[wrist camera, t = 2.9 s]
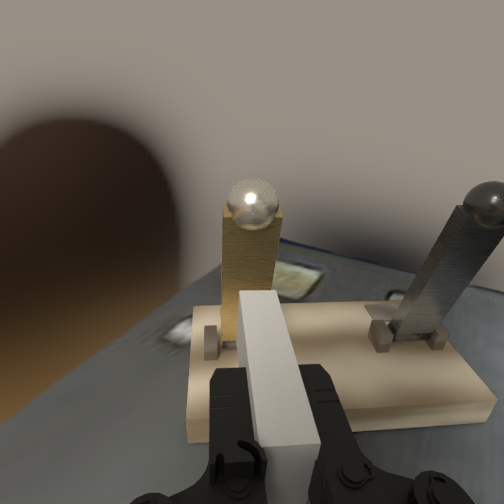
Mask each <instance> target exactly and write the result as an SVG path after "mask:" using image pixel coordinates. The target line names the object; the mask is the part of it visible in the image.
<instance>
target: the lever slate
mask: <svg viewBox="0 0 504 504" xmlns="http://www.w3.org/2000/svg"><path fill="white" fill-rule="evenodd" d="M503 236H504V183H502V182H497V181H490V182H485V183H482V184H479V185H477V186H476V187H474V188H473V189H471V190H470V191H469V193H468V194H467V195H466V197H465V199H464V201H463V205H457V206H456V207H455V209H454V211H453V212H452V214H451V216H450V218H449V219H448V221H447V223H446V225H445V227H444V228H443V230H442V232H441V234H440V235H439V237H438V239H437V241H436V242H435V244H434V246H433V247H432V249H431V251H430V253H429V254H428V256H427V258H426V260H425V261H424V263H423V265H422V267H421V268H420V270H419V272H418V274H417V275H416V277H415V279H414V281H413V282H412V284H411V286H410V288H409V289H408V291H407V293H406V295H405V296H404V298H403V300H402V302H401V303H400V305H399V307H398V309H397V310H396V312H395V314H394V316H393V317H392V319H391V321H390V322H389V323H388V325H387V326H388V328H389V329H390V331H391V332H392V334H393V335H394V337H393V340H392V342H399V341H423V340H429V339H430V337H431V334H432V333H433V332H434V330H435V329H436V327H437V326H438V325H439V323H440V322H441V321H442V319H443V318H444V317H445V315H446V314H447V313H448V311H449V310H450V309H451V307H452V306H453V304H454V303H455V302H456V300H457V299H458V298H459V296H460V295H461V294H462V292H463V291H464V290H465V288H466V287H467V286H468V284H469V283H470V281H471V280H472V279H473V277H474V276H475V275H476V273H477V272H478V271H479V269H480V268H481V267H482V265H483V264H484V263H485V261H486V260H487V258H488V257H489V256H490V254H491V253H492V252H493V250H494V249H495V248H496V246H497V245H498V244H499V242H500V241H501V239H502V238H503Z"/></svg>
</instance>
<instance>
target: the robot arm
mask: <svg viewBox="0 0 504 504" xmlns="http://www.w3.org/2000/svg"><path fill="white" fill-rule="evenodd" d="M236 345H237V355H238V366H239V367H237V368H216V369H215V371H214V373H213V375H212V377H211V379H210V381H209V462H208V466H207V468H206V471H205V472H204V474H203V475H202V477H201V478H200V479H199V480H198V481H197V482H196V483H195V484H194V485H193V486H191V487H189V488H187V489H186V490H184V491H181V492H179V493H177V494H175V495H172V496H170V497H167V496H165V495H163V494H160V493H147V494H145V495H142V496H140V497H138V498H136V499H135V500H133V501H132V502H131V503H130V504H306V503H307V499H308V495H309V500H310V504H475V503H474V502H473V501H472V499H471V498H470V497H469V496H468V495H467V493H466V492H465V491H464V490H463V489H462V488H461V487H460V486H459V485H458V484H457V483H456V482H455V481H454V480H453V479H451V478H449V477H447V476H446V475H444V474H442V473H439V472H435V471H425V472H421V473H420V474H419V475H418V476H416V478H415V480H413V479H410V478H406V477H402V476H398V475H395V474H391V473H388V472H385V471H383V470H381V469H379V468H377V467H376V466H374V465H373V464H372V462H370V461H369V460H368V459H367V458H366V457H365V456H364V455H363V454H362V453H361V451H360V449H359V447H358V445H357V443H356V440H355V438H354V435H353V433H352V430H351V427H350V425H349V422H348V420H347V417H346V415H345V412H344V409H343V407H342V404H341V403H340V399H339V397H338V394H337V392H336V390H335V386H334V384H333V381H332V379H331V376H330V375H329V373H328V372H327V371H326V370H325V369H324V368H323V367H322V366H321V365H320V364H297V360H296V357H295V353H294V350H293V347H292V343H291V340H290V336H289V333H288V330H287V326H286V323H285V319H284V316H283V313H282V309H281V306H280V302H279V299H278V296H277V292H276V290H247V291H239V302H238V321H237V339H236Z"/></svg>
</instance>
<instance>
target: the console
mask: <svg viewBox="0 0 504 504" xmlns="http://www.w3.org/2000/svg"><path fill="white" fill-rule="evenodd" d="M401 302H402V300H395V301H359V302H323V303H287V304H280V306H281V309H282V313H283V316H284V319H285V323H286V326H287V330H288V333H289V336H290V340H291V343H292V347H293V350H294V353H295V357H296V360H297V364H320V365H321V366H322V367H323V368H324V369H325V370H326V371H327V372H328V373H329V375H330V376H331V379H332V381H333V384H334V386H335V390H336V392H337V394H338V397H339V399H340V403H341V404H342V407H343V409H344V412H345V415H346V417H347V420H348V422H349V425H350V427H351V430H352V432H358V431H372V430H386V429H400V428H414V427H427V426H441V425H455V424H469V423H483V422H486V421H487V419H488V417H489V415H490V413H491V412H492V410H493V408H494V406H495V404H496V403H497V401H498V399H497V398H496V396H495V395H494V394H493V393H492V392H491V391H490V389H489V388H488V387H487V386H486V385H485V384H484V382H483V381H482V380H481V379H480V378H479V377H478V375H477V374H476V373H475V372H474V371H473V370H472V368H471V367H470V366H469V365H468V364H467V363H466V361H465V360H464V359H463V358H462V357H461V356H460V354H459V353H458V352H457V351H456V350H455V348H454V347H453V346H452V345H451V344H450V343H449V341H448V340H447V339H448V337H449V334H450V333H449V332H448V331H447V330H446V329H445V327H444V326H443V325H442V324H441V323H439V325H438V326H437V327H436V329H435V330H434V332H433V333H432V334H431V337H430V339H429V340H423V341H399V342H392V340H393V337H394V335H393V334H392V332H391V331H390V329H389V328H388V326H387V325H388V323H389V322H390V321H391V319H392V317H393V316H394V314H395V312H396V310H397V309H398V307H399V305H400V303H401ZM237 367H239V366H238V355H237V348H233V349H222V345H221V305H214V306H194V308H193V323H192V338H191V353H190V368H189V383H188V398H187V412H186V427H187V441H188V444H190V443H204V442H209V381H210V379H211V377H212V375H213V373H214V371H215V369H216V368H237Z"/></svg>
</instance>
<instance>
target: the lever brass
mask: <svg viewBox="0 0 504 504" xmlns="http://www.w3.org/2000/svg"><path fill="white" fill-rule="evenodd" d="M282 219H283V216H282V212H281V208H280V205H279V200H278V196H277V193H276V191H275V190H274V188H273V187H272V186H271V185H270V184H269V183H267V182H266V181H264V180H261V179H257V178H249V179H245V180H242V181H241V182H239V183H237V184H236V185H235V186H234V187H233V188H232V190H231V191H230V193H229V196H228V199H227V204H223V223H222V228H223V229H222V284H221V345H222V349H233V348H237V345H236V339H237V321H238V302H239V291H247V290H271V287H272V280H273V274H274V268H275V262H276V256H277V250H278V244H279V238H280V232H281V226H282Z"/></svg>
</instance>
